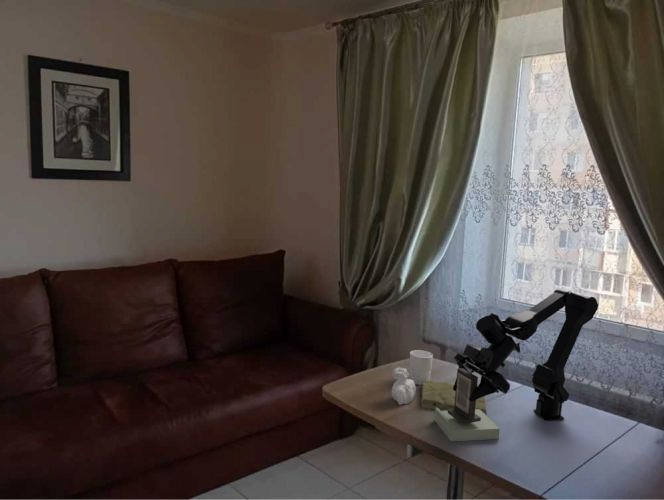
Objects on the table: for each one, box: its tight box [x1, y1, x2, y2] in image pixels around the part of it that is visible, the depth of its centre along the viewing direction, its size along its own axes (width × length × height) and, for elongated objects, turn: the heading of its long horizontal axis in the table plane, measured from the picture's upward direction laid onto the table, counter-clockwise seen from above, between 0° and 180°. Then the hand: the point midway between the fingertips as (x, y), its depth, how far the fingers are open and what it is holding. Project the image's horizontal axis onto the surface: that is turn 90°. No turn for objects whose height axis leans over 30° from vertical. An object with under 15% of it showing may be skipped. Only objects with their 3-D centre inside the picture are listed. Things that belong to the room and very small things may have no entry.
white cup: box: [409, 349, 434, 386], centre depth 182 cm, size 8×8×10 cm
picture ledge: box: [434, 408, 500, 442], centre depth 149 cm, size 14×12×4 cm
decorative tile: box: [421, 380, 488, 417], centre depth 167 cm, size 18×20×4 cm
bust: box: [391, 367, 417, 405], centre depth 167 cm, size 12×8×11 cm
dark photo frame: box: [448, 367, 481, 424], centre depth 146 cm, size 6×7×13 cm
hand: (461, 395), depth 146 cm, fingers closed on dark photo frame, 7 cm apart
